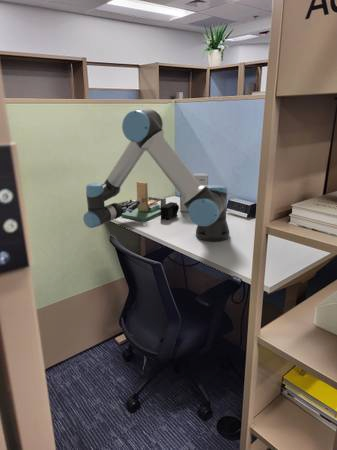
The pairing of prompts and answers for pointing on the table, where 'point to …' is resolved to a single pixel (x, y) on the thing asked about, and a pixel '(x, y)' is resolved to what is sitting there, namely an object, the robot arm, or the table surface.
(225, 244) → the table surface
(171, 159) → the robot arm
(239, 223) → the table surface
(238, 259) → the table surface
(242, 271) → the table surface
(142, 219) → the circuit board
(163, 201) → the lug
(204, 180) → the hard drive box
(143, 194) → the upright wooden plank
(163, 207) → the digital camera
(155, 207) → the heat sink
